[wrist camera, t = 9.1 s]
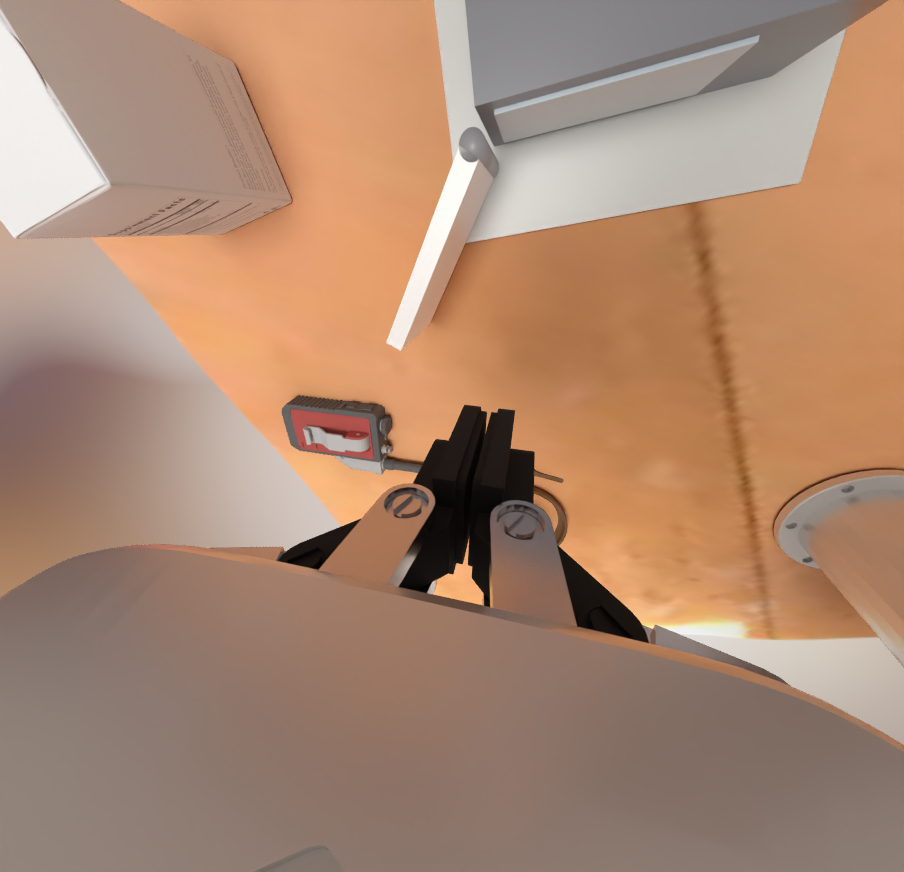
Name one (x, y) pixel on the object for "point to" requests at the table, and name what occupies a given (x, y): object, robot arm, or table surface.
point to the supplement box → (123, 128)
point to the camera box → (635, 99)
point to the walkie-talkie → (343, 432)
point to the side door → (446, 235)
